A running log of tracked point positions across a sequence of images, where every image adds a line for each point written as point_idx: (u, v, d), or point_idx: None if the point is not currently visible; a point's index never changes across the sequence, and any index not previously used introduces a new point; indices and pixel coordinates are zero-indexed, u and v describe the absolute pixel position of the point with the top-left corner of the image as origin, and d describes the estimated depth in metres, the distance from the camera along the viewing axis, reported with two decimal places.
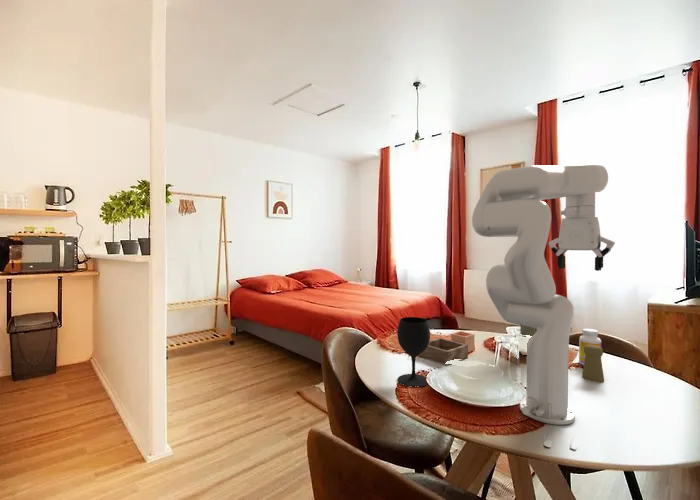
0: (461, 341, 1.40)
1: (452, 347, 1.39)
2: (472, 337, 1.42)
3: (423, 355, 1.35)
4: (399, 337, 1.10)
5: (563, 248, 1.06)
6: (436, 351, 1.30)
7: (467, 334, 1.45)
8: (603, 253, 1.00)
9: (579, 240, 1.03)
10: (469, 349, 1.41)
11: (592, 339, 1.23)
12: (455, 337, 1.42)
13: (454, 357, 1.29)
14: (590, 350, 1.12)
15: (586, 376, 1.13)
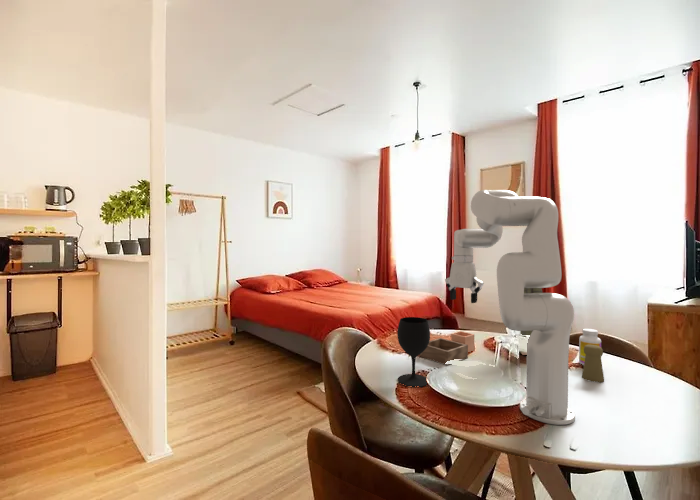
0: (461, 341, 1.40)
1: (452, 347, 1.39)
2: (472, 337, 1.42)
3: (423, 355, 1.35)
4: (399, 337, 1.10)
5: (452, 285, 1.44)
6: (436, 351, 1.30)
7: (467, 334, 1.45)
8: (476, 290, 1.37)
9: (461, 280, 1.40)
10: (469, 349, 1.41)
11: (592, 339, 1.23)
12: (455, 337, 1.42)
13: (454, 357, 1.29)
14: (590, 350, 1.12)
15: (586, 376, 1.13)
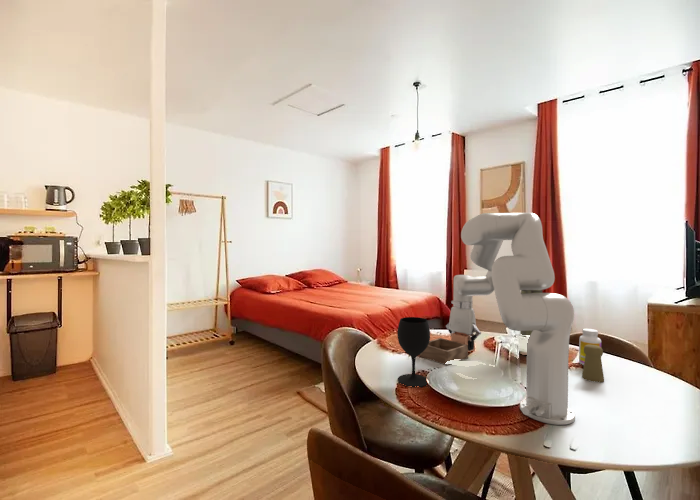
0: (461, 341, 1.40)
1: (452, 347, 1.39)
2: None
3: (423, 355, 1.35)
4: (399, 337, 1.10)
5: (451, 330, 1.44)
6: (436, 351, 1.30)
7: None
8: (473, 339, 1.39)
9: (460, 326, 1.41)
10: None
11: (592, 339, 1.23)
12: (455, 337, 1.42)
13: (454, 357, 1.29)
14: (590, 350, 1.12)
15: (586, 376, 1.13)
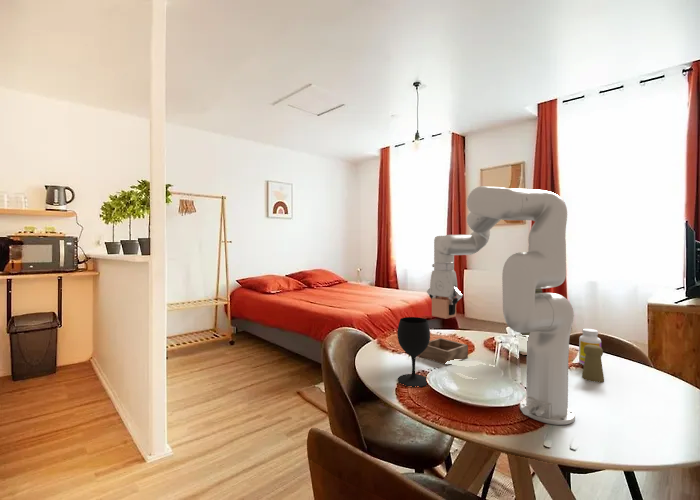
0: (442, 305, 1.32)
1: (452, 347, 1.39)
2: None
3: (423, 355, 1.35)
4: (399, 337, 1.10)
5: (432, 294, 1.36)
6: (436, 351, 1.30)
7: None
8: (454, 302, 1.30)
9: (441, 289, 1.32)
10: None
11: (591, 339, 1.23)
12: (436, 301, 1.34)
13: (454, 357, 1.29)
14: (590, 350, 1.12)
15: (586, 376, 1.13)
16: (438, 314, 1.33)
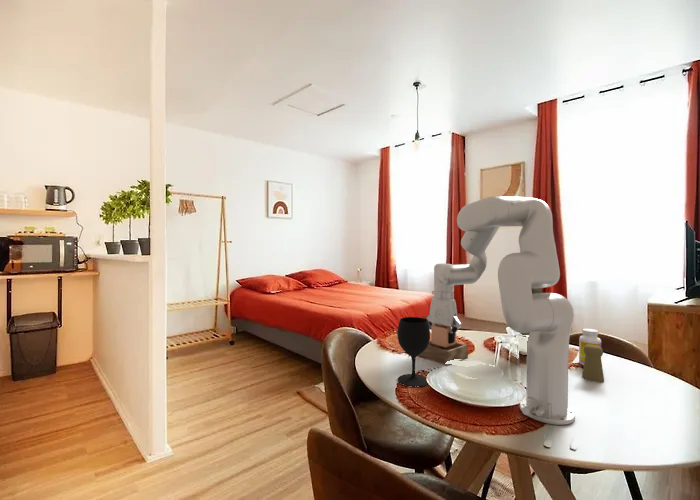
0: (441, 333, 1.32)
1: (452, 347, 1.39)
2: None
3: (423, 355, 1.35)
4: (399, 337, 1.10)
5: (432, 322, 1.36)
6: (436, 351, 1.30)
7: None
8: (453, 331, 1.31)
9: (441, 317, 1.33)
10: None
11: (592, 339, 1.23)
12: (435, 329, 1.34)
13: (454, 357, 1.29)
14: (590, 350, 1.12)
15: (586, 376, 1.13)
16: (437, 342, 1.33)
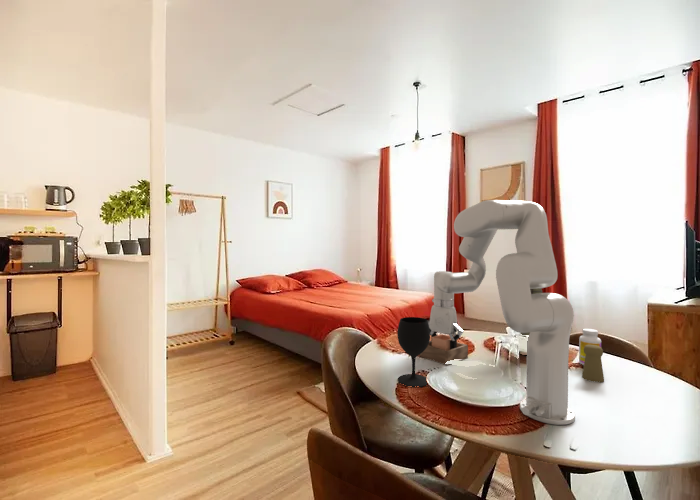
0: (441, 345, 1.32)
1: None
2: None
3: (423, 355, 1.35)
4: (399, 337, 1.10)
5: (432, 329, 1.36)
6: (436, 351, 1.30)
7: (448, 337, 1.37)
8: (455, 338, 1.30)
9: (441, 325, 1.33)
10: None
11: (592, 339, 1.23)
12: (435, 341, 1.34)
13: (454, 357, 1.29)
14: (590, 350, 1.12)
15: (586, 376, 1.13)
16: None
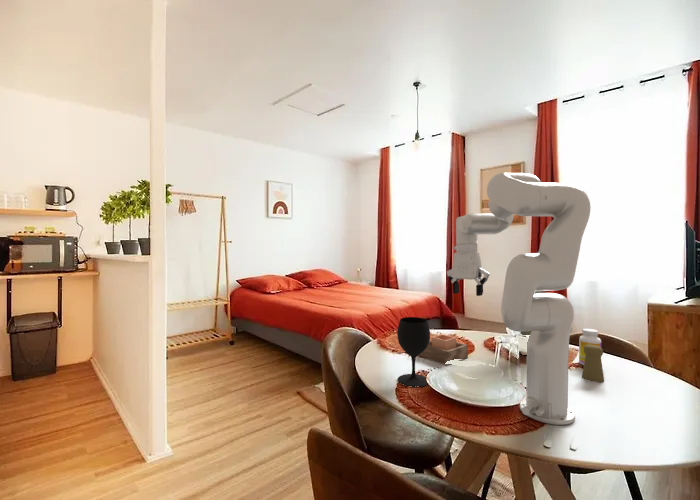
0: (441, 345, 1.32)
1: None
2: (453, 341, 1.34)
3: (423, 355, 1.35)
4: (399, 337, 1.10)
5: (455, 277, 1.31)
6: (436, 351, 1.30)
7: (448, 337, 1.37)
8: (481, 282, 1.25)
9: (465, 271, 1.28)
10: None
11: (592, 339, 1.23)
12: (435, 341, 1.34)
13: (454, 357, 1.29)
14: (590, 350, 1.12)
15: (586, 376, 1.13)
16: None
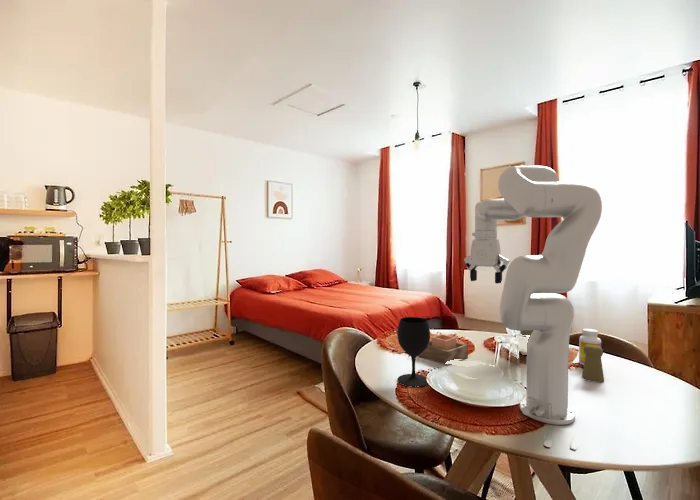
0: (441, 345, 1.32)
1: None
2: (453, 341, 1.34)
3: (423, 355, 1.35)
4: (399, 337, 1.10)
5: (473, 264, 1.28)
6: (436, 351, 1.30)
7: (448, 337, 1.37)
8: (501, 269, 1.22)
9: (483, 258, 1.25)
10: None
11: (592, 339, 1.23)
12: (435, 341, 1.34)
13: (454, 357, 1.29)
14: (590, 350, 1.12)
15: (586, 376, 1.13)
16: None
